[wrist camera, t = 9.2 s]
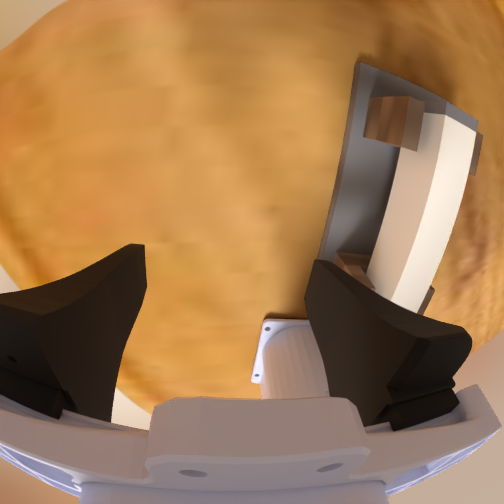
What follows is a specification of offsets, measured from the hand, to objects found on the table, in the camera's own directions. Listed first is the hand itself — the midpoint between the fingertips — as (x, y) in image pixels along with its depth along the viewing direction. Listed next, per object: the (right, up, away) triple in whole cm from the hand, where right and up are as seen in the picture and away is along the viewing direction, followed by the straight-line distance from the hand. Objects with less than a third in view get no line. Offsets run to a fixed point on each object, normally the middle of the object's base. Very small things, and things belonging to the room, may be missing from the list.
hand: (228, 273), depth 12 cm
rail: (+12, +4, +6) cm, 14 cm away
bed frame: (+12, +5, +9) cm, 15 cm away
